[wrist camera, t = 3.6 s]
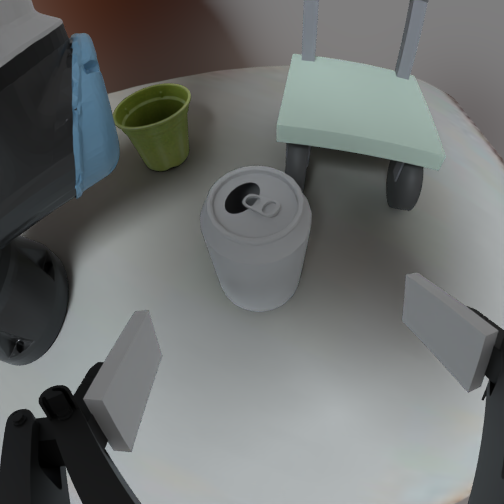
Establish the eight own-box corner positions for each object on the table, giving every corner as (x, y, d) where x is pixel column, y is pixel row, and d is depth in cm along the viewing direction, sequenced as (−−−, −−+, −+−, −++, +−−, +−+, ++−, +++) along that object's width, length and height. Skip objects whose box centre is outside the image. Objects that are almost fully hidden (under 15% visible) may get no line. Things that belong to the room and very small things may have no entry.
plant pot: (156, 130, 41) (140, 82, 34) (213, 137, 40) (204, 84, 32) (121, 175, 37) (97, 126, 30) (182, 187, 35) (164, 132, 28)
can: (251, 230, 32) (243, 142, 22) (313, 268, 30) (335, 187, 19) (204, 285, 29) (170, 211, 19) (269, 330, 27) (269, 275, 16)
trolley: (274, 202, 34) (273, -14, 13) (291, 109, 42) (294, -38, 22) (412, 224, 32) (502, 44, 11) (395, 126, 40) (432, -11, 20)
